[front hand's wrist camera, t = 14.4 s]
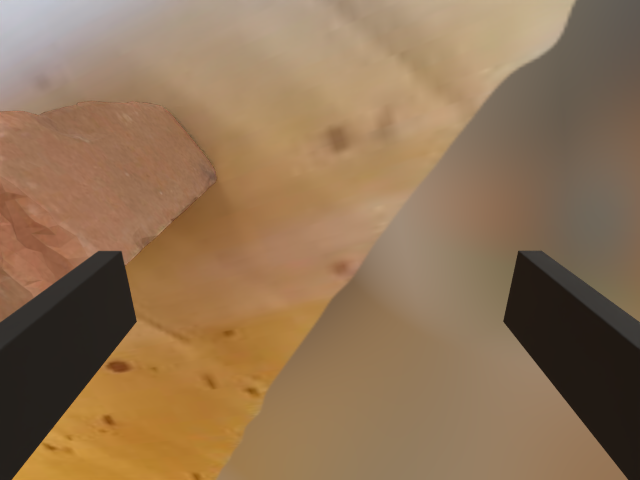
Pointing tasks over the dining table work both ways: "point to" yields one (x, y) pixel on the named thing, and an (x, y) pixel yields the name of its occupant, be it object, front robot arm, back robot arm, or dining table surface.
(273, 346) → the dining table surface
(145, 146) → the stone
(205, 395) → the dining table surface
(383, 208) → the dining table surface
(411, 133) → the dining table surface
